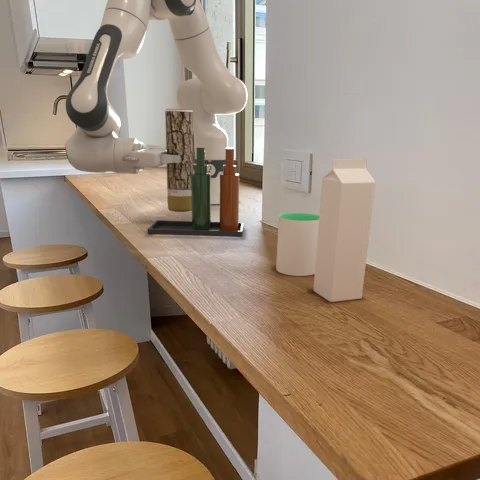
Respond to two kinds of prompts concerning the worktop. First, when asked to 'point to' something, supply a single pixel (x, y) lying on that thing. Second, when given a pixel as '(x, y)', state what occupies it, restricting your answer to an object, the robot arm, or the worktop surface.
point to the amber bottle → (229, 195)
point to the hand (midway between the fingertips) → (183, 157)
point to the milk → (343, 230)
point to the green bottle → (201, 193)
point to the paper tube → (181, 144)
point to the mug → (297, 243)
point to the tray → (190, 229)
